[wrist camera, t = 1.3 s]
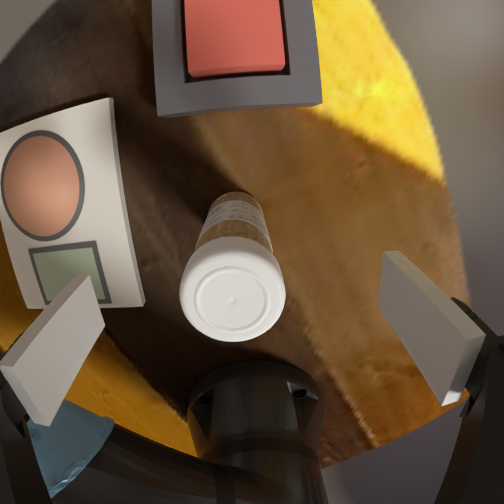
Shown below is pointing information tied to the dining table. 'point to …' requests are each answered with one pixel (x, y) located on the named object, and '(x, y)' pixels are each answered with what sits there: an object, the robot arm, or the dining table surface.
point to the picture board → (68, 207)
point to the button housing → (236, 86)
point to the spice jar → (233, 273)
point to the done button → (233, 37)
